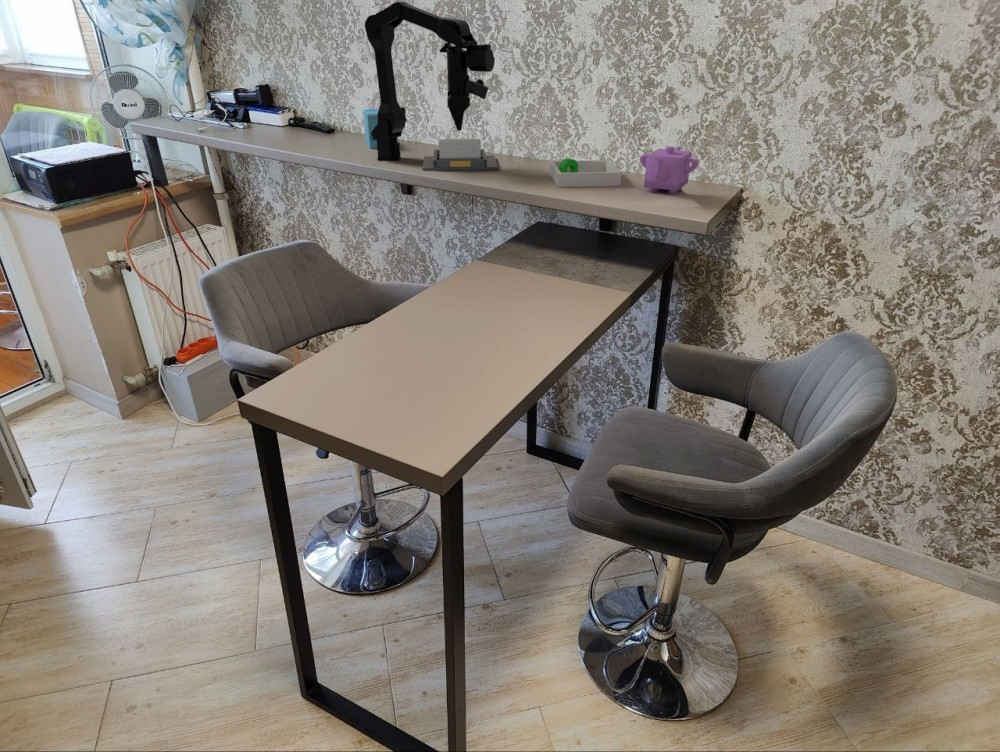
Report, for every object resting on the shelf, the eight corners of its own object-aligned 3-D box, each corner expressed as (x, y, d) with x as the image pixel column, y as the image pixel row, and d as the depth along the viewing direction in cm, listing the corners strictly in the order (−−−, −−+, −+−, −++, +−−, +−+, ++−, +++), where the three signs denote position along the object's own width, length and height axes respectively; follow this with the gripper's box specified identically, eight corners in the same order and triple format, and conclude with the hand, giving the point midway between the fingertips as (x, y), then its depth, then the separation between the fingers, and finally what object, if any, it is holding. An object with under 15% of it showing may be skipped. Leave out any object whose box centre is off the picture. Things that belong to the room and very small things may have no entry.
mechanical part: (563, 184, 197) (564, 155, 193) (577, 187, 193) (578, 158, 189) (530, 189, 191) (531, 160, 187) (544, 193, 186) (545, 163, 183)
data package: (384, 151, 228) (381, 113, 223) (370, 152, 227) (367, 113, 221) (379, 145, 238) (376, 108, 233) (365, 145, 237) (362, 108, 232)
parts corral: (557, 187, 183) (558, 173, 181) (549, 173, 198) (549, 160, 196) (620, 186, 184) (621, 172, 182) (607, 172, 199) (608, 160, 197)
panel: (439, 165, 202) (438, 141, 198) (440, 163, 204) (439, 139, 201) (480, 165, 202) (480, 140, 199) (480, 163, 205) (480, 138, 202)
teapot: (630, 184, 185) (634, 142, 180) (676, 182, 188) (681, 140, 183) (653, 198, 172) (658, 153, 167) (702, 195, 175) (709, 151, 170)
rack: (422, 171, 200) (422, 160, 199) (424, 159, 216) (423, 149, 214) (497, 170, 201) (497, 159, 200) (494, 158, 217) (494, 148, 215)
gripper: (488, 73, 183) (488, 134, 191) (484, 67, 200) (485, 124, 207) (446, 73, 183) (448, 135, 190) (446, 68, 199) (448, 124, 207)
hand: (459, 129), depth 199 cm, fingers open, 3 cm apart
